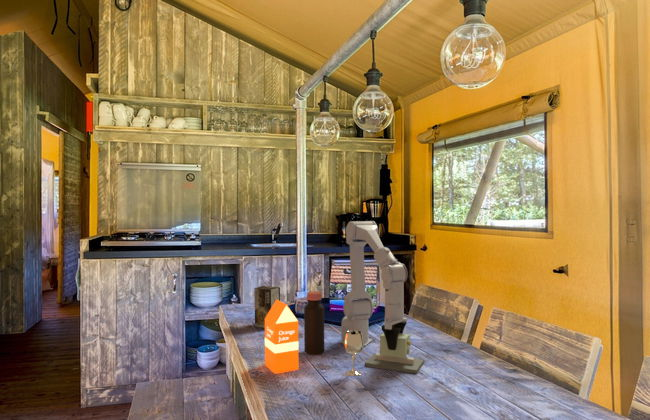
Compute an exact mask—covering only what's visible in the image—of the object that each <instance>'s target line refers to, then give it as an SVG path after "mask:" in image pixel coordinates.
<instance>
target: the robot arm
mask: <svg viewBox="0 0 650 420" xmlns="http://www.w3.org/2000/svg"><path fill="white" fill-rule="evenodd" d="M378 231H379V229H378V225H377V223H376V222H375V221H374V220H368V221H367V220H364V221H361V220H359V221H358V220H356V221H352V220H351V221H349V222H348V223H347V225H346V227H345V239H346V244H347V245H349V261H350V263H349V264H350V287H351V288H350V289H351V290H350V291H349V292H348V293H347V294H345V295H344V299H343V307H342V310H343V314H344V317H343V318H342V319H341V328H340V331H341V337H340V338H341V339H340V340H341V341H340V344H344V337H345V333H346V331H349V330H357V331H361V333H362V337H363V347H366V346H368V344H370V343H371V342H372V341H373V339H372V338H369V319H371V316H372V315H373V314H374V313H373V312H374V309H375V306H374V303H373V298H372V297H373V296H372V295H371V294H370V293H369V292H368V291H367V290H366V273H365V271H366V270H365V252H364V251H365V250H364V249H365V248H364V247H365V246H366V245H367V244H368V245H369V247H370V249H371V250H372V252H374V254H373V259H374V260H375V262H376V263H377V265H378V267H379V268H380V270H381V273H380V275H381V276H380V277H381V279H382V285H383V288H384V324H382V326H381V331H382V332H383V333H384V335H385V337H386V341H387V345H388V349H389V350H396V346H397V338H398V334H399V333H402V334H404V331H405V328H406V325H407V321H408V320H409V319H408V317H405V316H404V315H405V314H404V312H405V311H404V310H405V309H404V308H405V306H404V305H405V303H404V302H405V299H404V298H405V296H404V295H405V293H404V292H405V291H404V290H405V289H404V284H405V282H406V281H407V279H408V269H407V266H406V265H405V263H401V262H400V261H398V260H397V259H396V257H395V256H394V254H393V253H392V251H391V250H390V248H388V247H385V246H384V245H383V243H382V241H381V238H380V236H379V234H378V233H379V232H378Z"/></svg>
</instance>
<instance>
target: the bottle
mask: <svg viewBox="0 0 650 420" xmlns="http://www.w3.org/2000/svg"><path fill="white" fill-rule="evenodd" d="M306 300H307V303H306V305H305V306H304V308H303V309H304V313H303V314H304V315H303V316H304V318H303V320H304V321H303V322H304V323H303V324H304V325H303V326H304V335H303V336H304V339H303V340H304V345H303V346H304V350H303V351H304V353H305V354H307V355H311V356H317V355H321V354H323V353H324V352H325V306H324V305H323V304H322V303H321V302H322V292H321V291H313V290H312V291H308V292H306Z"/></svg>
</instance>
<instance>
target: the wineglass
mask: <svg viewBox="0 0 650 420" xmlns="http://www.w3.org/2000/svg"><path fill="white" fill-rule="evenodd" d="M343 349H344V350H345V352H346V353H348V354H350V355H352V356H351V360H352V369H351V370H347V371H346V372H345V374H346V375H347V376H349V377H350V376H351V377H358V376H360V375H361V376H362V372H361V371H359V370H356V369H355V360H356V355H358V354H359V353H361V352H362V351H363V349H364V346H363V337H362V333H361V331H357V330H349V331H346V333H345V337H344V343H343Z"/></svg>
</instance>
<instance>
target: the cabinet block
mask: <svg viewBox="0 0 650 420" xmlns="http://www.w3.org/2000/svg"><path fill="white" fill-rule="evenodd" d="M410 338H411V336H410V334H409V333H403V334H402V333H399V334H398V338H397V346H396V350H389V349H388V345H387V341H386V337H385V335H384V332H383V333H381V334H380V335H379V354H380V355H384V356H391V357H397V358H404V359H406V357H408V356H407V355H410V353H411V352H410V349H411V348H410V347H411V346H412V341H411V340H410Z"/></svg>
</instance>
